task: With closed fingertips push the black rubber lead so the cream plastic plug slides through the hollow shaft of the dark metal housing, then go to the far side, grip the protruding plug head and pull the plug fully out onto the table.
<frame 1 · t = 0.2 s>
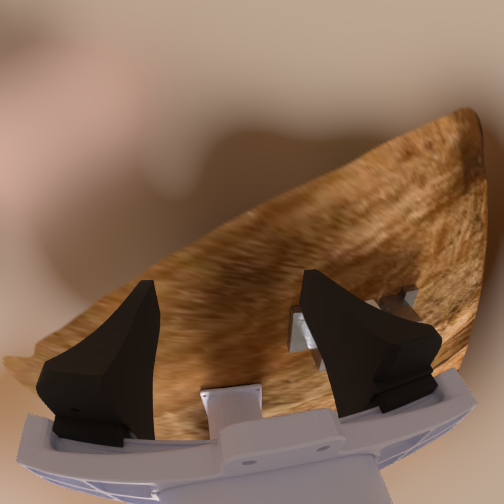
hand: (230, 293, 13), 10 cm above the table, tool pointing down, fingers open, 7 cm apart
housing: (355, 315, 30), on the table
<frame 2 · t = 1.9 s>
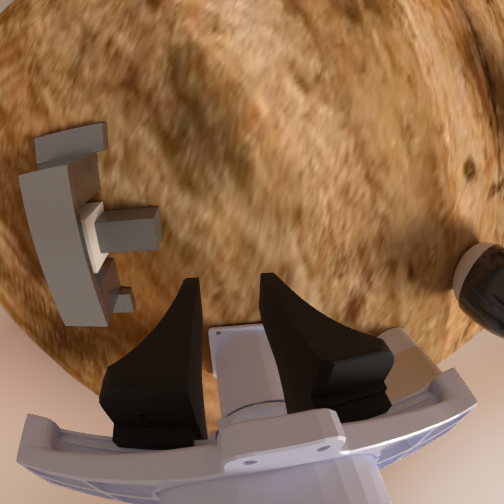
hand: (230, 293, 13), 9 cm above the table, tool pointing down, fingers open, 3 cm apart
coffee cup: (384, 344, 34), on the table
plug: (109, 225, 20), on the table
housing: (85, 227, 20), on the table
black penguin figurine: (466, 263, 30), on the table
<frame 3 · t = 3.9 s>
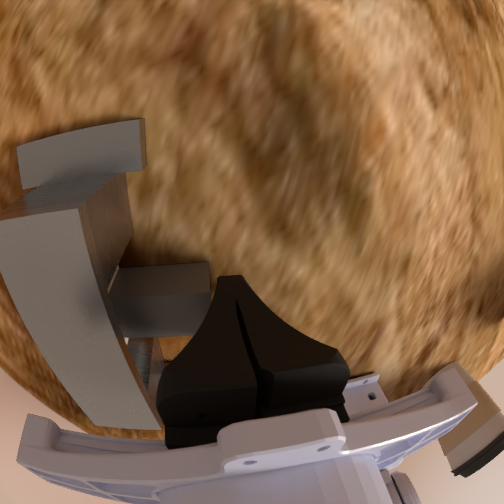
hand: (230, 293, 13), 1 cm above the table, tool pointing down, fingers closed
coffee cup: (438, 378, 27), on the table
plug: (128, 287, 13), on the table, touching gripper
housing: (108, 287, 13), on the table
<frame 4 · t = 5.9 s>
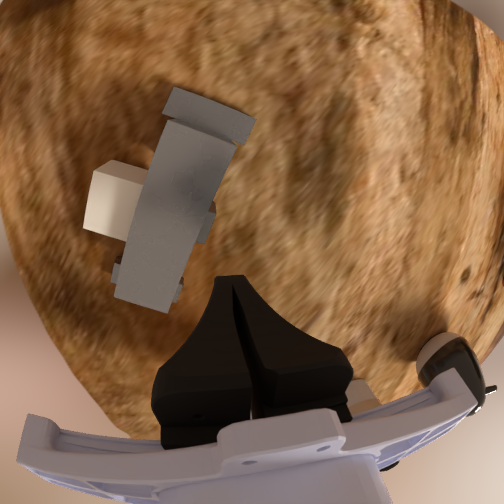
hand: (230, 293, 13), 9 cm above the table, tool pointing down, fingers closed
coffee cup: (347, 391, 38), on the table
plug: (156, 200, 20), on the table
housing: (172, 202, 20), on the table
black penguin figurine: (431, 344, 37), on the table
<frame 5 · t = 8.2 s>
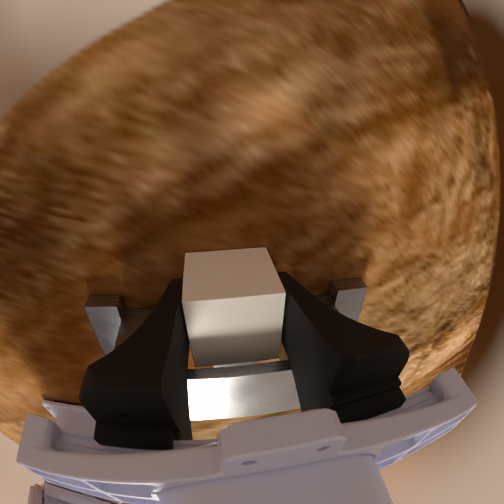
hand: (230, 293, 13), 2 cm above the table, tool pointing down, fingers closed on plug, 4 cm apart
plug: (229, 315, 16), on the table, touching gripper
housing: (229, 329, 16), on the table
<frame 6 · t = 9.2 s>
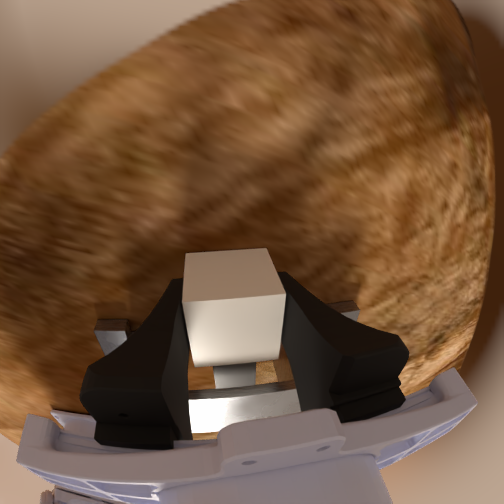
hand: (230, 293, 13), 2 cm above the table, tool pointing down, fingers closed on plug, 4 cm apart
plug: (228, 315, 16), on the table, touching gripper
housing: (229, 348, 17), on the table
when the fingers open (2 cm above the table, at t = 10.3 s): plug stays where it is, on the table.
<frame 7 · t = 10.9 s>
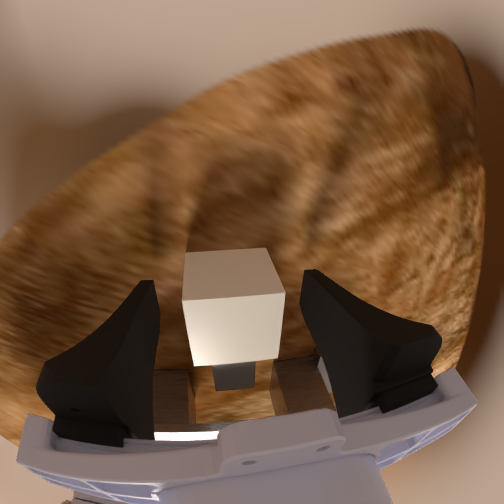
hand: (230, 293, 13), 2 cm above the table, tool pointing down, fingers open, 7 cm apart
plug: (228, 315, 16), on the table
housing: (231, 382, 19), on the table
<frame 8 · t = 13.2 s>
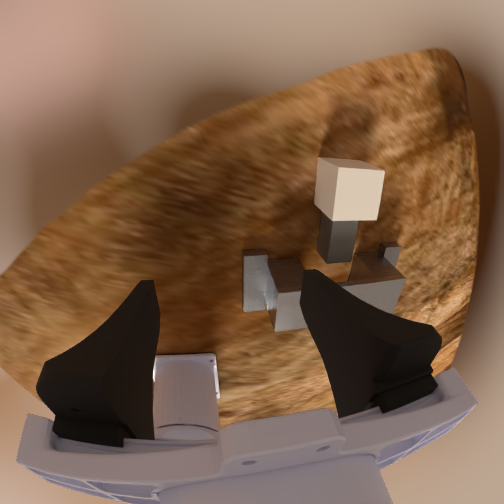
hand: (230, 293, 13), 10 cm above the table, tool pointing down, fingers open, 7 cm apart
plug: (334, 206, 23), on the table
housing: (324, 273, 27), on the table
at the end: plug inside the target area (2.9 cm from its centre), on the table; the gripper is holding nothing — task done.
